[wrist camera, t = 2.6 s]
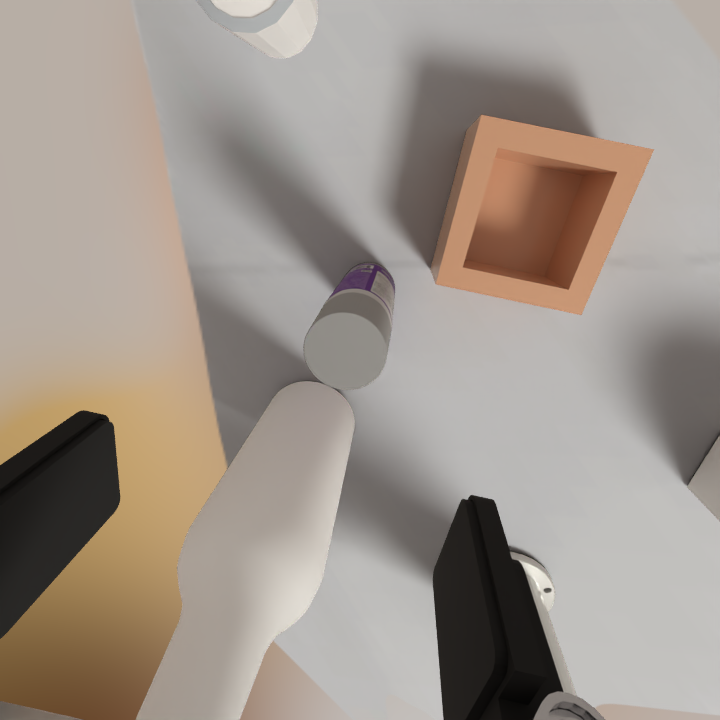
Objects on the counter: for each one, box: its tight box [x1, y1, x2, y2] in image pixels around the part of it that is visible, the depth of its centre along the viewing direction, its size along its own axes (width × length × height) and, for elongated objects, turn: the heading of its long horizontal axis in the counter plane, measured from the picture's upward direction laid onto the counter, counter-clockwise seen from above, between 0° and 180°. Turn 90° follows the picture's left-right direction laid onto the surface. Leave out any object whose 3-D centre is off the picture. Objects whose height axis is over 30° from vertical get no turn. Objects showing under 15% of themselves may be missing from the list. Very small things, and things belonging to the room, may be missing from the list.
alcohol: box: [136, 381, 355, 720], centre depth 26 cm, size 9×9×30 cm
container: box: [304, 263, 395, 390], centre depth 27 cm, size 5×5×15 cm
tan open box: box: [430, 115, 654, 315], centre depth 28 cm, size 10×10×6 cm
